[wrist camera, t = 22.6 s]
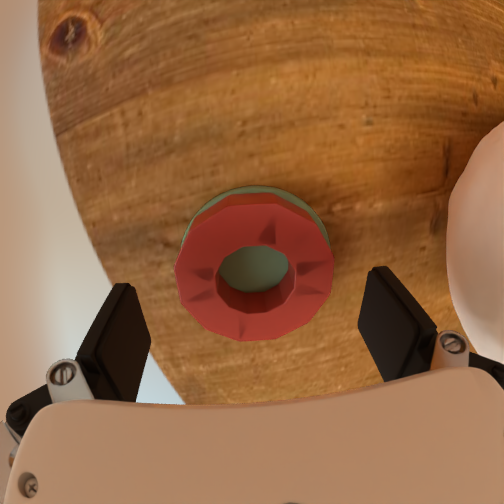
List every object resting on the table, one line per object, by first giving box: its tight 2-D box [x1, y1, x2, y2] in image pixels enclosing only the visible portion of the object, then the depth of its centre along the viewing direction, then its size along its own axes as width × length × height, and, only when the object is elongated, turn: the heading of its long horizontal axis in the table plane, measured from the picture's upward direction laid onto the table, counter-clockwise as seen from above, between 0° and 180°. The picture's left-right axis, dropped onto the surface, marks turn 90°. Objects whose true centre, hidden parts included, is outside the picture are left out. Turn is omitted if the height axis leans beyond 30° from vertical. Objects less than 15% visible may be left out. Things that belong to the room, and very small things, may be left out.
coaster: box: [181, 186, 331, 293], centre depth 15 cm, size 8×8×1 cm
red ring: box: [174, 192, 335, 341], centre depth 14 cm, size 7×7×2 cm
